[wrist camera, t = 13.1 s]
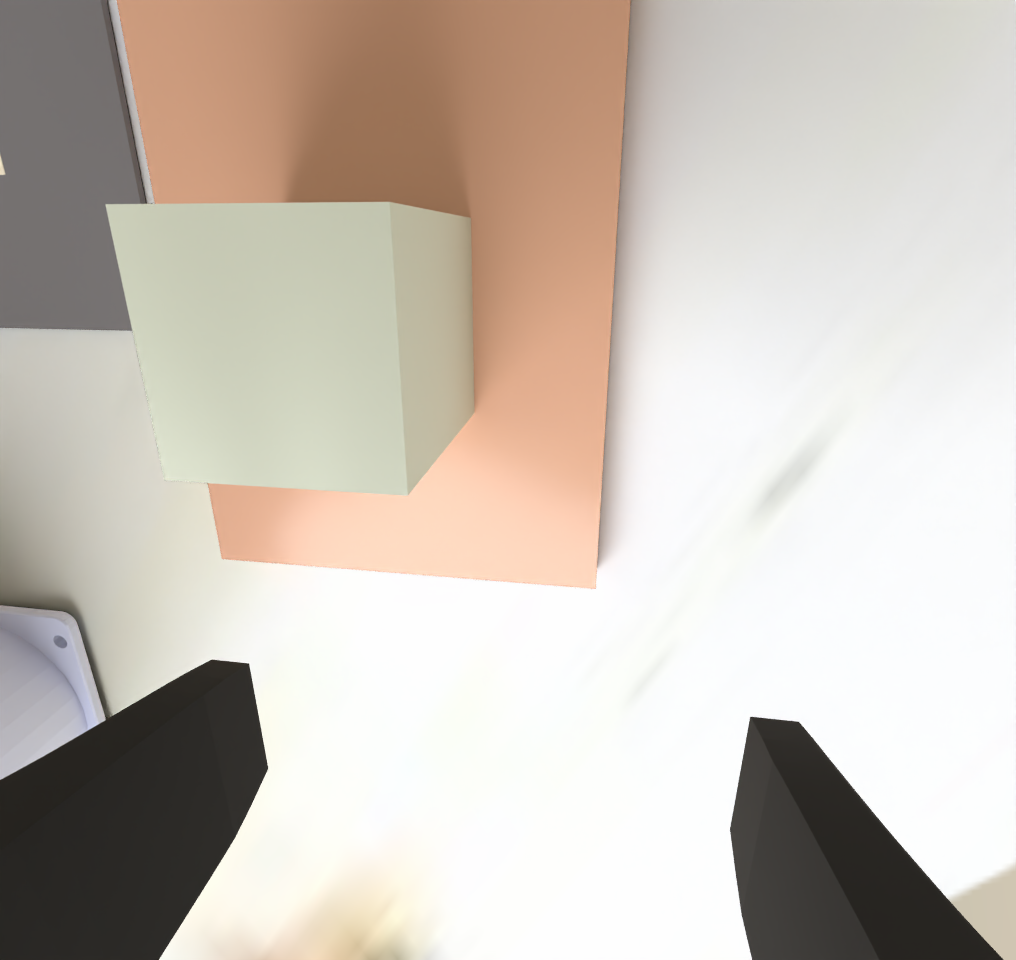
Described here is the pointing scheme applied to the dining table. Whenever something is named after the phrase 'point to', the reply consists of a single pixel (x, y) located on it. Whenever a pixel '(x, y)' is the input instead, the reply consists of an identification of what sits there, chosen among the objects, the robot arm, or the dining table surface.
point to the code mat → (62, 166)
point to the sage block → (300, 339)
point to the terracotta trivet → (434, 186)
